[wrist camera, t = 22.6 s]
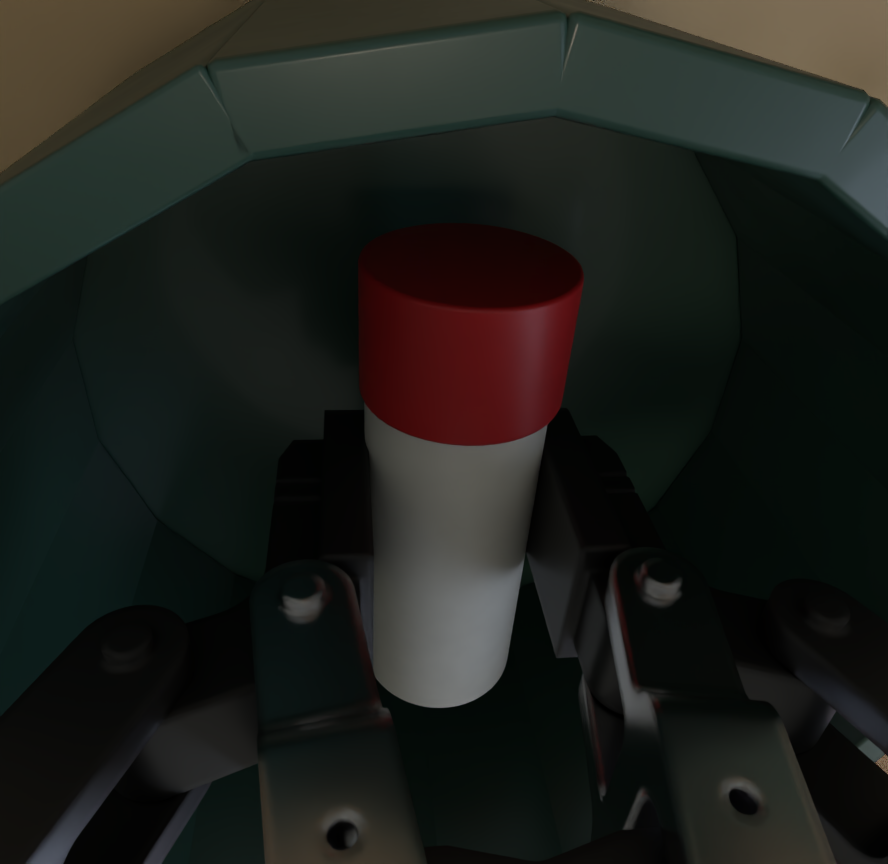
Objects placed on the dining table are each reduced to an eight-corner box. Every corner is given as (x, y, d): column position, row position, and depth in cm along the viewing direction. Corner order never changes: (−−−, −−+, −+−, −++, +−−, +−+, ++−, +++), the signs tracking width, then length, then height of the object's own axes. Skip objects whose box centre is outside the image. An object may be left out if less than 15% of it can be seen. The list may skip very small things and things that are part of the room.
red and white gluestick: (481, 597, 16) (535, 713, 14) (347, 623, 15) (380, 753, 13) (530, 217, 11) (627, 298, 9) (338, 226, 10) (389, 319, 8)
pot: (125, 627, 18) (20, 976, 12) (-70, -75, 10) (-687, -68, 4) (667, 601, 20) (808, 892, 14) (876, -9, 12) (1428, 63, 6)
